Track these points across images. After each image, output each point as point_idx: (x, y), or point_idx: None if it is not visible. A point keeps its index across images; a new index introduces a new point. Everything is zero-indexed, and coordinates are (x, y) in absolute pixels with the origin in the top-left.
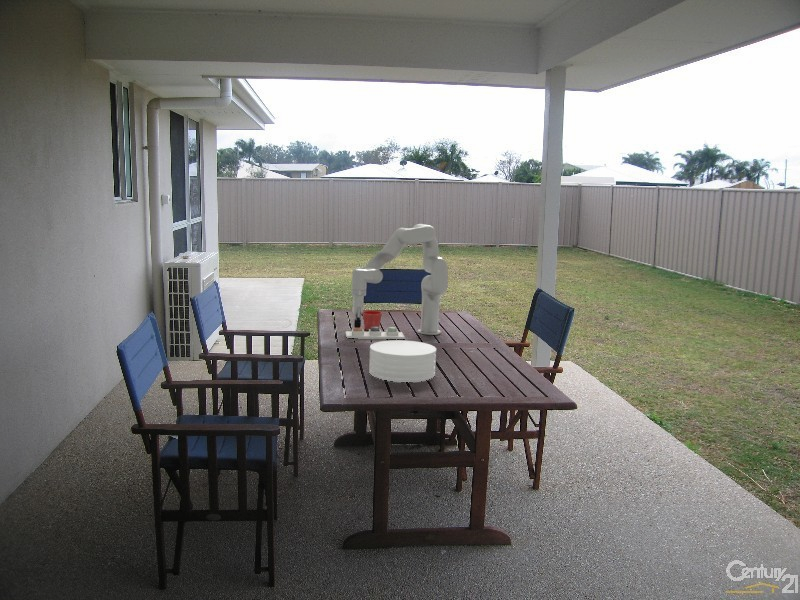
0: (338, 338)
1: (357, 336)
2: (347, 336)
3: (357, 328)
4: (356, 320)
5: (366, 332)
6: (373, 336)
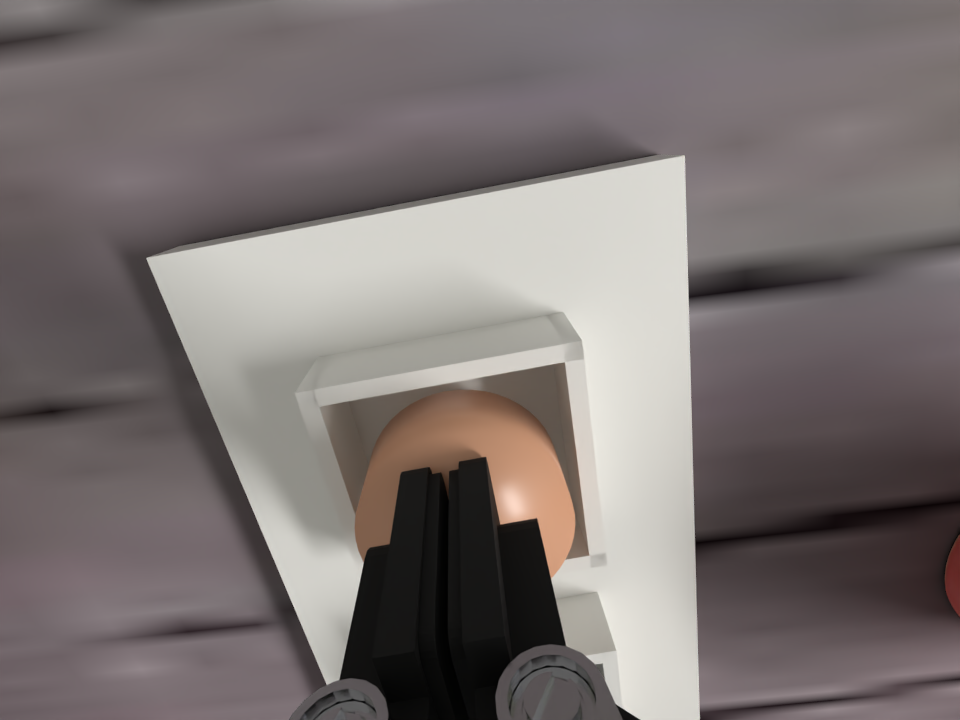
0: (162, 45)
1: (236, 462)
2: (156, 271)
3: (356, 529)
4: (337, 704)
5: (618, 560)
6: (326, 679)
